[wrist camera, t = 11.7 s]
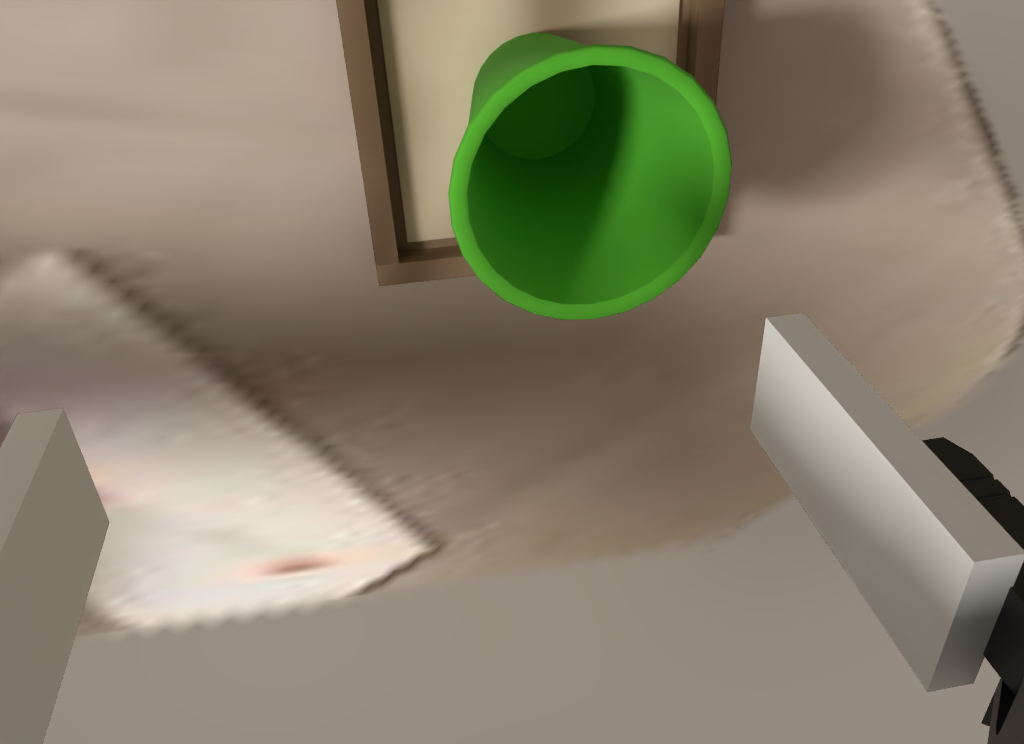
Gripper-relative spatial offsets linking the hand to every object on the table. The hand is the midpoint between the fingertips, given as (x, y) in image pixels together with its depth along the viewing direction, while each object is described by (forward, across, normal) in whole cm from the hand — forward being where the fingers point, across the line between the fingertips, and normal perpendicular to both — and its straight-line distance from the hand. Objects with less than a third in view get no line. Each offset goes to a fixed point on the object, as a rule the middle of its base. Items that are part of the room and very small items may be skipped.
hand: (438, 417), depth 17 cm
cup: (+22, +6, -1) cm, 23 cm away
